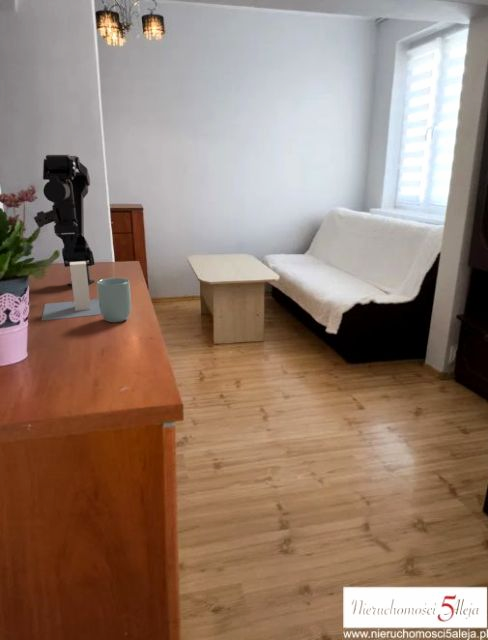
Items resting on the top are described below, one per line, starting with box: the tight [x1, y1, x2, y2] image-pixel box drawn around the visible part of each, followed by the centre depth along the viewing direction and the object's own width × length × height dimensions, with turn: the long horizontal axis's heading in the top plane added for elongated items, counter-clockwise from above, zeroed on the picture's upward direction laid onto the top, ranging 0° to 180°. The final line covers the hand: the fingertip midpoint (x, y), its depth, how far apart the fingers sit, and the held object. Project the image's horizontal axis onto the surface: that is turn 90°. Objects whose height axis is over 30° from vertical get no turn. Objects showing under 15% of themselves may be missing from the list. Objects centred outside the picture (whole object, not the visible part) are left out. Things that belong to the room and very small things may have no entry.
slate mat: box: [40, 298, 102, 322], centre depth 125 cm, size 16×20×1 cm
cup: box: [96, 277, 132, 323], centre depth 113 cm, size 8×8×10 cm
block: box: [69, 261, 91, 311], centre depth 123 cm, size 4×4×12 cm
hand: (70, 254), depth 137 cm, fingers open, 9 cm apart
